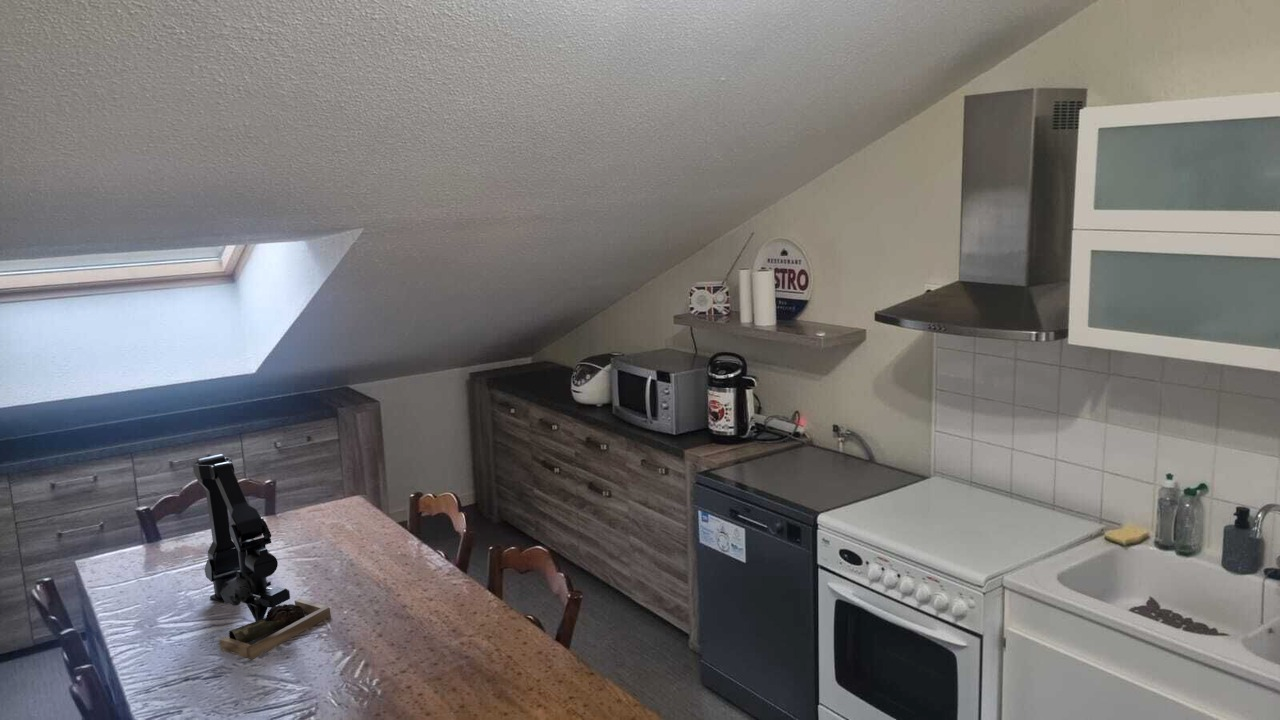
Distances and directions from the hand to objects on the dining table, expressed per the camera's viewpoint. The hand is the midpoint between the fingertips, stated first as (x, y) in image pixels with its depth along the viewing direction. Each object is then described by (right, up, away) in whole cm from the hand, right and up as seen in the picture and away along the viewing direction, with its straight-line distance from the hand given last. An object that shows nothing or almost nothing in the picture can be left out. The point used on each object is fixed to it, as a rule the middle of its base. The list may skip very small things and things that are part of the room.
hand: (259, 622), depth 239 cm
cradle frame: (+6, -1, -3) cm, 7 cm away
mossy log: (+4, -2, -3) cm, 5 cm away
